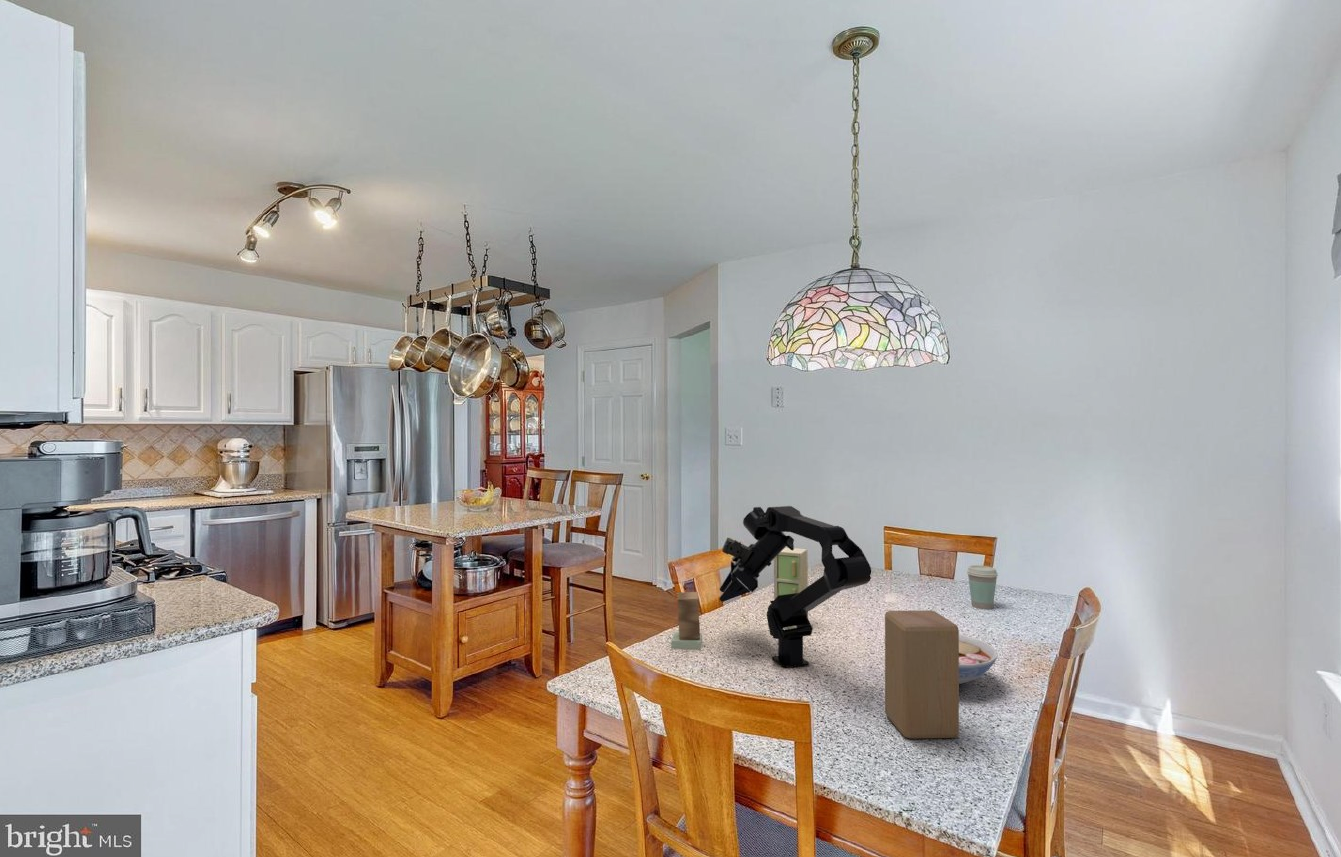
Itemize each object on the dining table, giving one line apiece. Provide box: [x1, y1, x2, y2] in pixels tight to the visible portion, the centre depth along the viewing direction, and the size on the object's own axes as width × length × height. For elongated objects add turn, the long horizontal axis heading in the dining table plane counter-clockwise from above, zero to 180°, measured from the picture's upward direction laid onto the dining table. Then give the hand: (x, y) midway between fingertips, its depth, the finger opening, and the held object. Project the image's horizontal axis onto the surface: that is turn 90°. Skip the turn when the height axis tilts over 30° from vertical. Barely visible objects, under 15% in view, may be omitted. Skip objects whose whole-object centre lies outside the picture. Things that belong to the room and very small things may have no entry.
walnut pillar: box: [676, 591, 701, 640], centre depth 152 cm, size 5×5×10 cm
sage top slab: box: [670, 631, 703, 651], centre depth 152 cm, size 7×7×2 cm
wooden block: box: [884, 609, 960, 739], centre depth 112 cm, size 10×10×20 cm
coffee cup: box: [966, 564, 999, 610], centre depth 191 cm, size 8×9×12 cm
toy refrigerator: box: [773, 547, 809, 629], centre depth 171 cm, size 8×7×21 cm
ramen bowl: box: [883, 633, 999, 685], centre depth 134 cm, size 25×23×8 cm
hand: (720, 595), depth 151 cm, fingers open, 9 cm apart
